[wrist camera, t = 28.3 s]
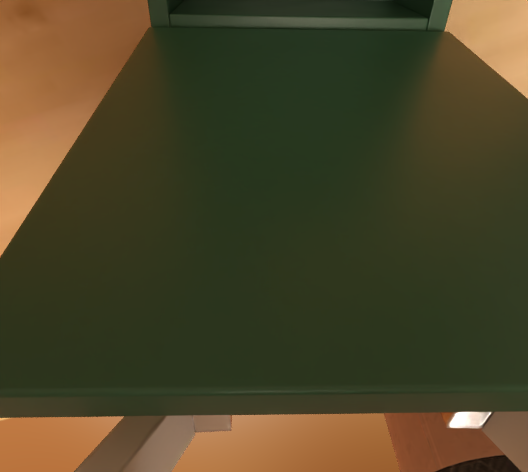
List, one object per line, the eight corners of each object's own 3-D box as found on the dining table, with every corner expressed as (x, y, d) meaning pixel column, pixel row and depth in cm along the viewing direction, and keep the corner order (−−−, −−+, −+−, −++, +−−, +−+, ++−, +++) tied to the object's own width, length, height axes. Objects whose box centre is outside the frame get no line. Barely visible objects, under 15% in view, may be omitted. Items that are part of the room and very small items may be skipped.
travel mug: (365, 209, 30) (489, 514, 14) (452, 229, 31) (653, 527, 16) (329, 279, 34) (392, 569, 19) (406, 294, 36) (527, 576, 20)
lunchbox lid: (-95, 395, 5) (43, 493, 8) (869, 385, 5) (636, 483, 8) (148, 26, 16) (165, 128, 19) (449, 31, 16) (417, 130, 20)
